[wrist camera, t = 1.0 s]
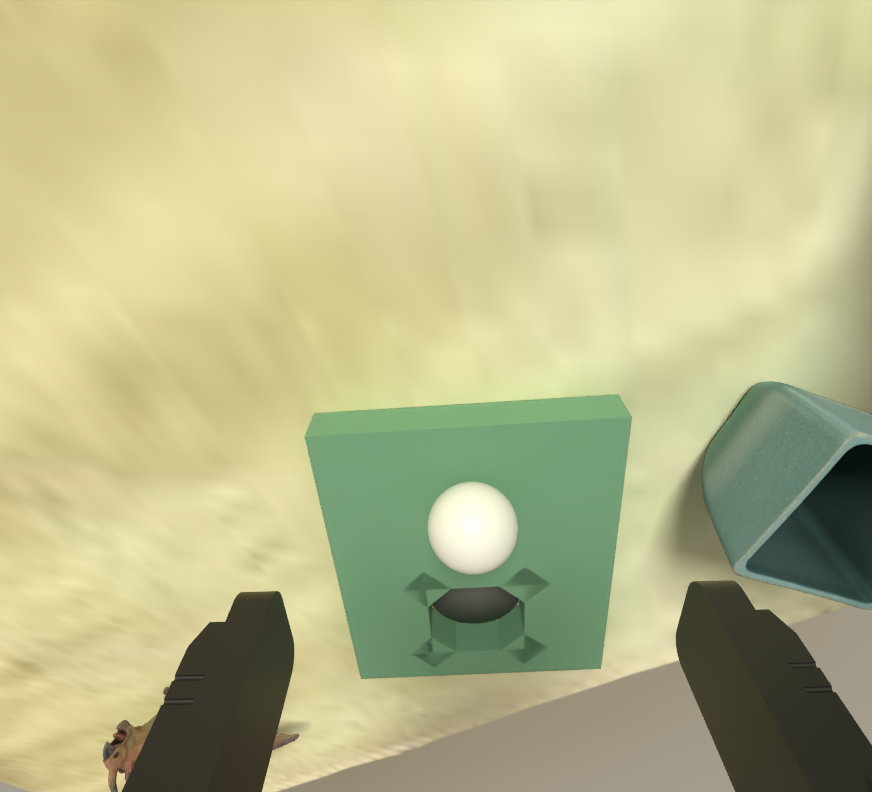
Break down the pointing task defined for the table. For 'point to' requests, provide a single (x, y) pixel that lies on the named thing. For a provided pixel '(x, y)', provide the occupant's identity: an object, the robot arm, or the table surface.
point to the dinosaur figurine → (130, 743)
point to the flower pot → (795, 492)
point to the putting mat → (502, 587)
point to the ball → (472, 528)
